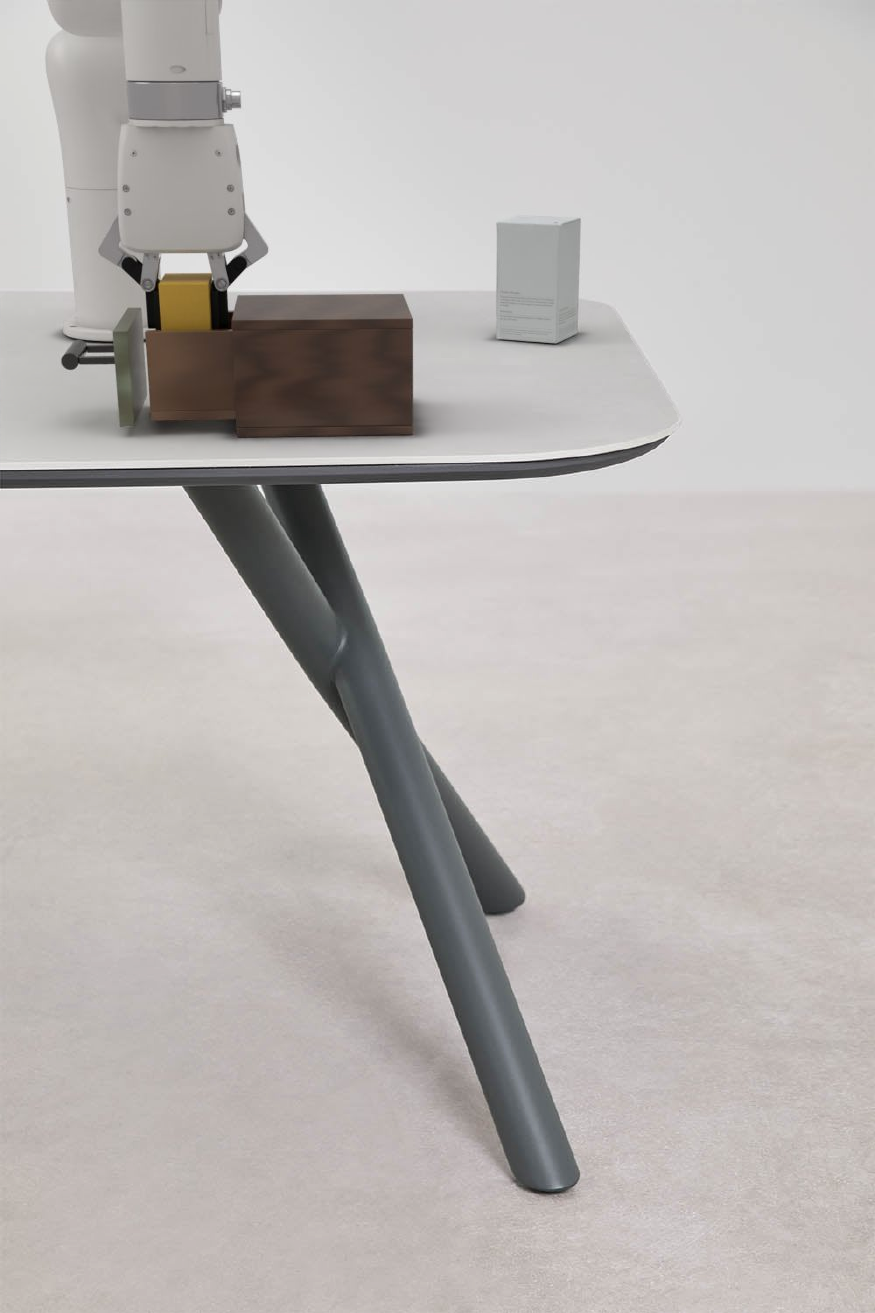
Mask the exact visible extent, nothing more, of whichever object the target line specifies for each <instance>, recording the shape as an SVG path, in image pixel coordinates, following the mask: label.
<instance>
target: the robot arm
mask: <svg viewBox="0 0 875 1313" xmlns="http://www.w3.org/2000/svg"><path fill="white" fill-rule="evenodd" d="M46 2H47V5H48V9H49V11H50V14H51V16H52V18H53V20H54V21H55V22H56V24H57V25H58V26H59V27H60V28H61V30H60V31H57V32H56V33H55V34H54V35H53V36H52V37H51V38H50V40H49V41H48V44H47V46H46V49H45V57H44V59H45V60H44V61H45V72H46V78H47V83H48V87H49V91H50V96H51V100H52V105H53V109H54V114H55V119H56V124H57V130H58V135H59V136H58V137H59V144H60V150H61V158H62V160H61V161H62V168H63V169H62V170H63V177H64V180H63V181H64V190H65V200H66V210H67V214H66V215H67V224H68V234H69V235H68V237H69V248H70V259H71V260H70V261H71V270H72V282H73V294H74V305H75V317H72V318H69V319H67V320H65V321H63V323H62V332H63V334H64V335H65V336H66V337H69V338H72V339H75V340H83V341H93V342H113V330H114V329H115V327H116V326H117V324H118V322H119V321H120V319H121V318H122V316H123V315H124V313H125V312H126V310H127V308H141V309H142V323H143V337H144V340H146V339H145V331H146V330H162V329H161V314H160V299H159V283H160V281H161V280H162V272H161V262H162V261H161V260H162V254H206V255H207V259H208V263H209V268H210V273H212V279H213V281H212V283H211V287H212V289H211V292H210V304H211V323H212V330H221V328H229V315H228V310H229V297H228V289H229V287H231V285H232V284H233V283H234V282H235V281H236V280H237V279H238V278H239V277H240V276H241V274H243V273H244V271H246V269H247V268H249V267H251V266H252V265H254V264H255V263H256V262H258V261H259V260H261V259H263V258H264V257H266V256H267V255H268V253H269V249H270V248H269V247H270V246H269V244H268V243H267V241H266V240H265V239H264V237H263V236H262V234H261V233H260V231H259V230H258V229H257V227H256V225H255V224H254V222H253V221H252V219H251V217H249V215H248V214H247V212H246V203H245V202H246V201H245V193H244V192H245V190H244V181H243V170H242V162H241V154H240V148H239V143H238V138H237V133H236V130H235V126H234V123H225V118H224V117H225V113H228V111H232V110H233V109H242V93H241V90H232V89H231V88H227V86H224V85H223V83H224V82H223V73H222V72H223V71H222V52H221V50H222V49H221V48H222V47H221V31H220V15H221V12H222V8H223V0H46ZM244 240H245V242H246V244H247V246H246V248H245V249H244V250H242V251H241V252H240V253H238V254H236V255H234V256H233V257H232V259H231V260H230V261H229V262H228V261H227V256H226V253H229V252H232V251H233V252H234V251H236V250H237V249H239V248H240V247H241V246H242V245H243V242H244Z"/></svg>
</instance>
